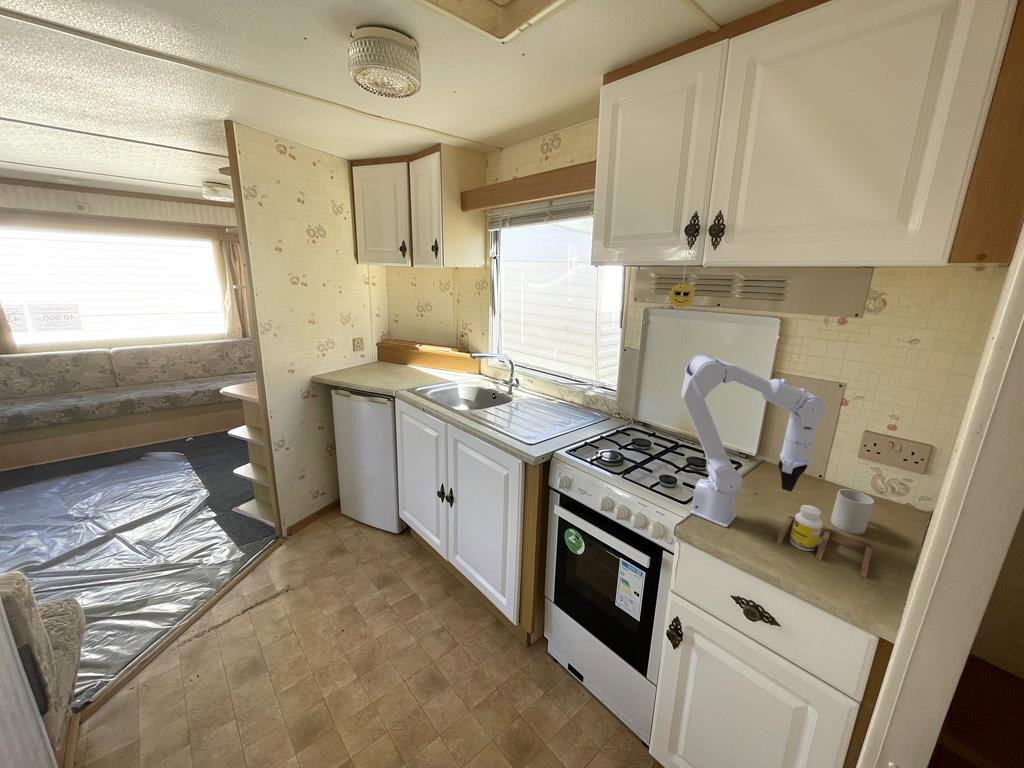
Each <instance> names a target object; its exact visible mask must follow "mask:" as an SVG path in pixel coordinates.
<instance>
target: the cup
mask: <svg viewBox="0 0 1024 768" xmlns="http://www.w3.org/2000/svg"><path fill="white" fill-rule="evenodd" d="M874 503H875V501H874V499H873V497H871V496H870V495H867V494H865V493H862V492H861V491H857V490H854V489H847V488H845V489H844V488H842V489H838V491H837V494H836V498H835V501H834V506H833V510H832V514H831V516H830V517H831V518H830V522H831V524H832V525H833V526H834V527H835V528H836V529H838V530H841V531H842V532H843V533H844V532H845V533H848V534H853V535H862V534H864V533H865V532H866V530H867V527H868V524H869V520H870V516H871V514H872V510H873V506H874Z"/></svg>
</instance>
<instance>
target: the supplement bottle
mask: <svg viewBox="0 0 1024 768" xmlns="http://www.w3.org/2000/svg"><path fill="white" fill-rule="evenodd" d="M794 516H795V519H794V523H793V526H792V528H791V532H790V536H789V541H790V543H791V544H792V545H793V546H794V547H796V548H798V549H799V550H802V551H804V552H805V551H806V552H813V551H815V550H816V549H817V546H818V543H819V539H820V536H819V535H820V532H821V528H822V526H823V521H822V519H821V516H822V511H821V509H819V508H818V507H816V506H813V505H809V504H803V505H801V506H800V509H799V512H797V513H796V514H795V515H794Z"/></svg>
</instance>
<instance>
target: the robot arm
mask: <svg viewBox="0 0 1024 768" xmlns="http://www.w3.org/2000/svg"><path fill="white" fill-rule="evenodd" d="M731 382H736V383H738V384H741V385H743V386H745V387H747V388H750V389H752V390H755V391H758V392H760V394H761V396H762V398H763V400H765V401H767V402H769V403H771V404H774V405H776V406H778V407H780V408H782V409H784V410H786V411H789V412H790V413H789V418H788V422H787V426H786V431H785V436H784V440H783V445H782V449H781V452H780V453H779V458H780V460H779V462H778V464H777V467H778V469H779V472H780V477H781V478H780V479H781V489H782V490H785V491H788V492H792V491H793V490H794V488H795V486H796V485H797V482H798V479H799V478H800V477H801V475H802V474H803V473H805V471H806V469H808V466H813V465H814V463H815V460H814V459H811V458H810V455H811V450H812V447H813V446H812V445H813V442H814V438H815V433H816V429H817V426H818V423H819V421H820V420H821V419H822V418H823V417H824V416H825V415H826V413H827V412H828V411H827V409H826V406H825V402H823V400H822V399H821V398H820V397H817V396H815V395H814V394H812V393H810V392H808V390H807V389H805V388H803V387H801V388H799V387H796V386H794V385H791V384H789V383H790V382H789V381H788V380H786V379H784V378H780V379H779V378H772V379H768V380H766V379H765V378H763V377H761V376H759V375H756V374H755V373H753V372H750V371H748V370H746V369H744V368H742V367H741V366H738V365H736V364H735V363H732V362H729V361H726V360H723V359H721V358H717V357H714V358H713V357H711V356H710V355H709V354H704V353H700V354H696V355H695V356H693V357H692V358H691V359H690V361H689V362H688V364H687V365H686V367H685V368H684V378H683V383H682V388H681V391H680V393H681V395H680V396H681V400H682V401H683V404H684V405H685V409H686V411H687V413H688V416H689V418H690V420H691V423H692V425H693V429H694V430H695V432H696V436H697V437H698V440H699V442H700V445H701V447H702V450H703V452H704V457H705V460H706V466H705V469H706V472H707V473H708V477H707V479H705V478H699V480H698V481H697V482H696V485H695V488H694V491H693V497H692V503H691V509H690V511H689V513H691V514H693V515H695V516H697V517H699V518H702V519H704V520H707V521H709V522H712V523H715V525H716V524H717V525H719V526H721V527H724V528H728V527H729V526H730V525H731V523H732V522H733V521H734V520H735V518H736V517H737V513H735V512H733V511H734V505H735V500H736V494H737V492H738V490H739V489H740V488H741V487H742V485H743V477H742V475H741V474H740V473H739V472H738V471H737V469H735V467H734V466H733V464H732V462H731V460H730V458H729V457H728V454H727V452H726V450H725V447H724V445H723V443H722V442H723V441H722V439H721V438H720V435H719V432H718V430H717V428H716V425H715V423H714V420H713V418H712V415H711V413H710V410H709V407H708V406H707V402H706V401H705V400H706V398H707V396H708V394H709V393H710V392H712V391H713V390H714V389H715V388H717V387H718V386H720V384H721V383H724V384H728V383H731Z"/></svg>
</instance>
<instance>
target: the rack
mask: <svg viewBox="0 0 1024 768" xmlns="http://www.w3.org/2000/svg"><path fill="white" fill-rule="evenodd" d="M794 519H795V515H794V514H788V517H787V518H786V521H785V522H784V523H783V525H782V527H781V529H780V531H779V532H778V534H777V536H776V537H777V538H776V543H778V544H780V545H782V543H783V541H784V540H785V538H786V535H787V534H788V533H789V531H790V529H791V526H792V527H793V523H794ZM819 537H821V541H820V544H819V547H818V548H817V551H816V556H815V559H817V560H819V561H822V558H823V557H824V556H823V555H824V553H825V551H826V548H827V545H828V542H829V541H832V542H835V543H837V544H840V545H843V546H846V547H848V548H851V549H854V550H857V551H860V552H862V553H864V555H863V560H862V563H861V569H860V572H859V577H862V578H864V579H866V577H867V575H868V570H869V566H870V562H871V561H870V560H871V557H872V550H873V547H874V543H872V542H869V541H866V540H863V539H861V538H858V537H855V536H852V535H850V534H846V533H844V532H841V531H839V530H838V531H837V530H835V529H833V528H830V527H827V526H824V525H822V528H821V532H820V535H819Z"/></svg>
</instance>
